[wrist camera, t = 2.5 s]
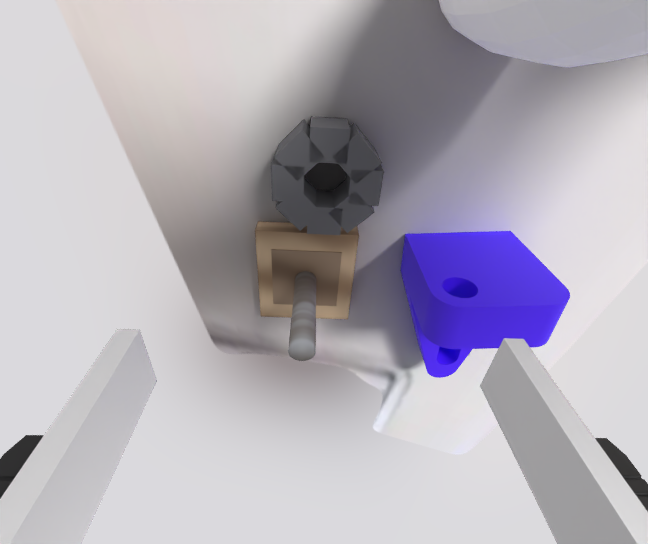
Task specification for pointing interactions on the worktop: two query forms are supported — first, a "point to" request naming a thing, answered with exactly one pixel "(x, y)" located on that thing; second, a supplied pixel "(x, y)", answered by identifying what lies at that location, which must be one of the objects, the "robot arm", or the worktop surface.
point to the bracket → (476, 294)
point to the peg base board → (304, 279)
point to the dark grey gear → (323, 205)
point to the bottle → (554, 28)
